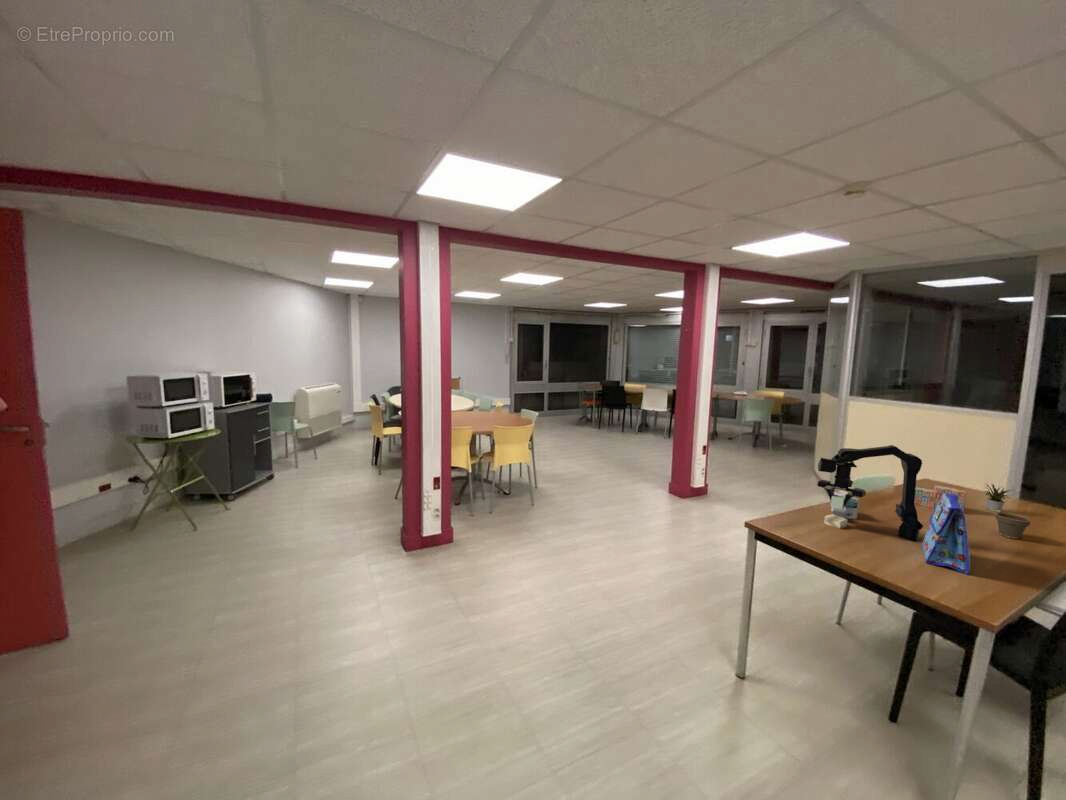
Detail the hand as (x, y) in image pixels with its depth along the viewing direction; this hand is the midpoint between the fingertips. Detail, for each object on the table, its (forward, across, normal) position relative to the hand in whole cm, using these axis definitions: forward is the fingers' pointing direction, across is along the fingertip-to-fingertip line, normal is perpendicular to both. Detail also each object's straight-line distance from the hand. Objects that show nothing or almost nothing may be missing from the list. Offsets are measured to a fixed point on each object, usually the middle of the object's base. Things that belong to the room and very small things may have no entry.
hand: (838, 504), depth 210 cm
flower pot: (+11, -52, -65) cm, 84 cm away
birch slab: (+11, 0, 0) cm, 11 cm away
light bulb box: (+11, +3, -20) cm, 23 cm away
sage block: (+1, 0, 0) cm, 1 cm away
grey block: (+11, +2, -10) cm, 15 cm away
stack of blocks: (+11, -22, -86) cm, 90 cm away
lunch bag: (+11, -40, 0) cm, 41 cm away
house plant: (+11, -40, -112) cm, 119 cm away
